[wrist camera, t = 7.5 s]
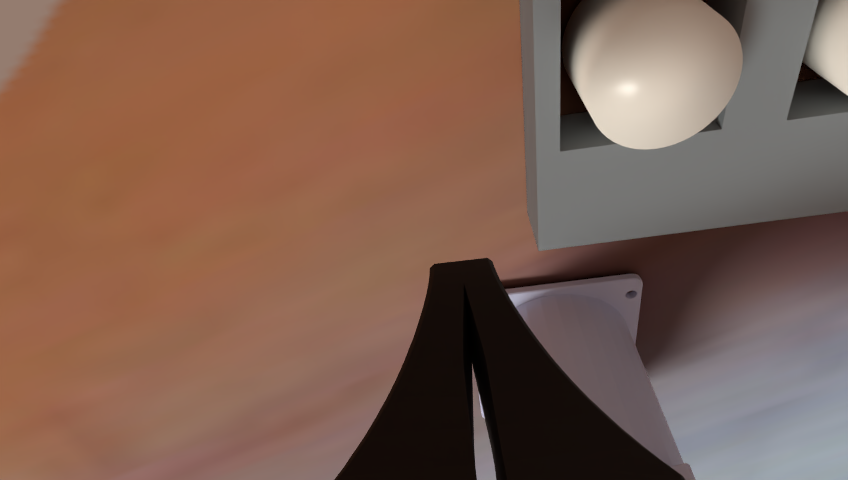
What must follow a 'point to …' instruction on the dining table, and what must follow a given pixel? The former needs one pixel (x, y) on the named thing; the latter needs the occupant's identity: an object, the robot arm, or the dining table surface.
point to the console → (687, 142)
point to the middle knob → (829, 43)
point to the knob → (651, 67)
